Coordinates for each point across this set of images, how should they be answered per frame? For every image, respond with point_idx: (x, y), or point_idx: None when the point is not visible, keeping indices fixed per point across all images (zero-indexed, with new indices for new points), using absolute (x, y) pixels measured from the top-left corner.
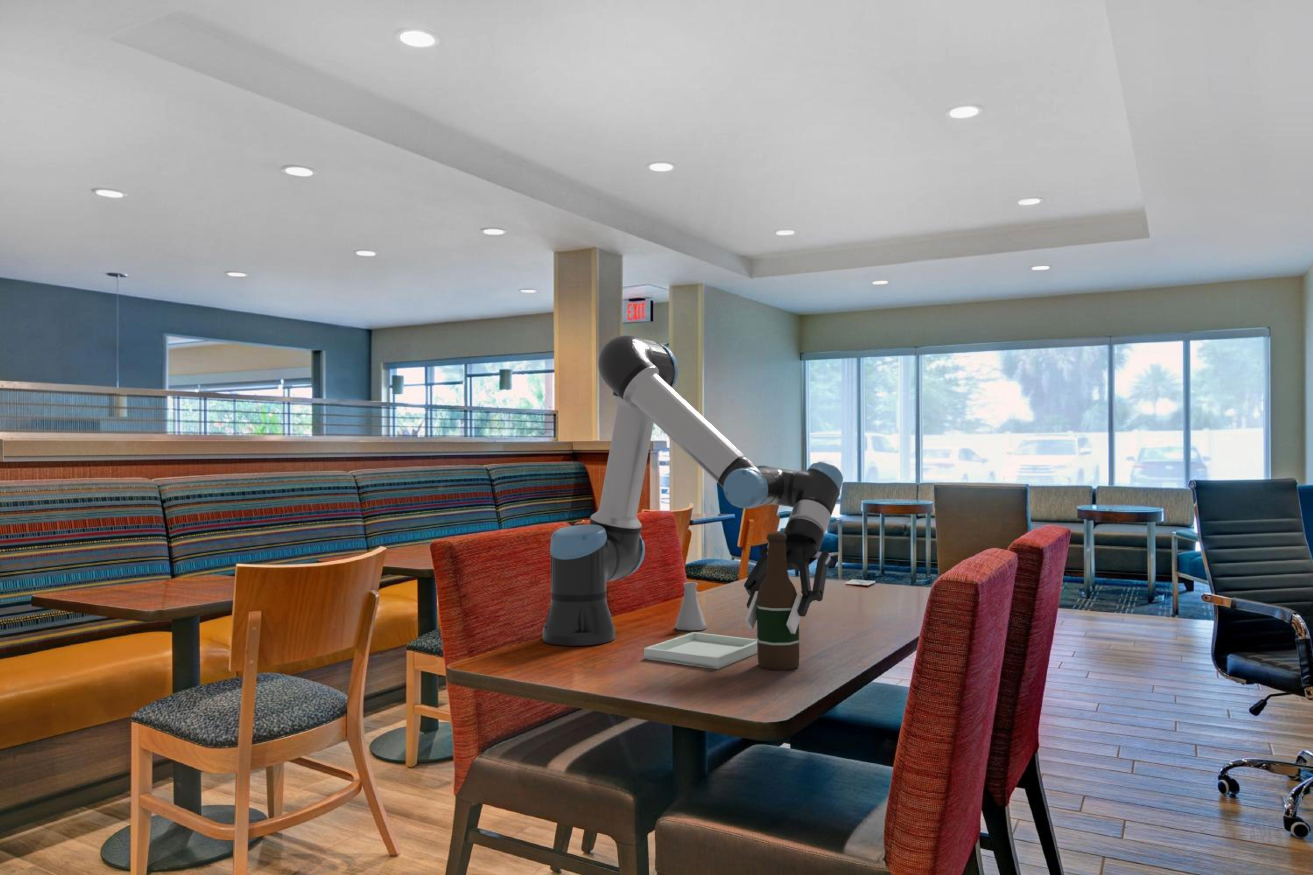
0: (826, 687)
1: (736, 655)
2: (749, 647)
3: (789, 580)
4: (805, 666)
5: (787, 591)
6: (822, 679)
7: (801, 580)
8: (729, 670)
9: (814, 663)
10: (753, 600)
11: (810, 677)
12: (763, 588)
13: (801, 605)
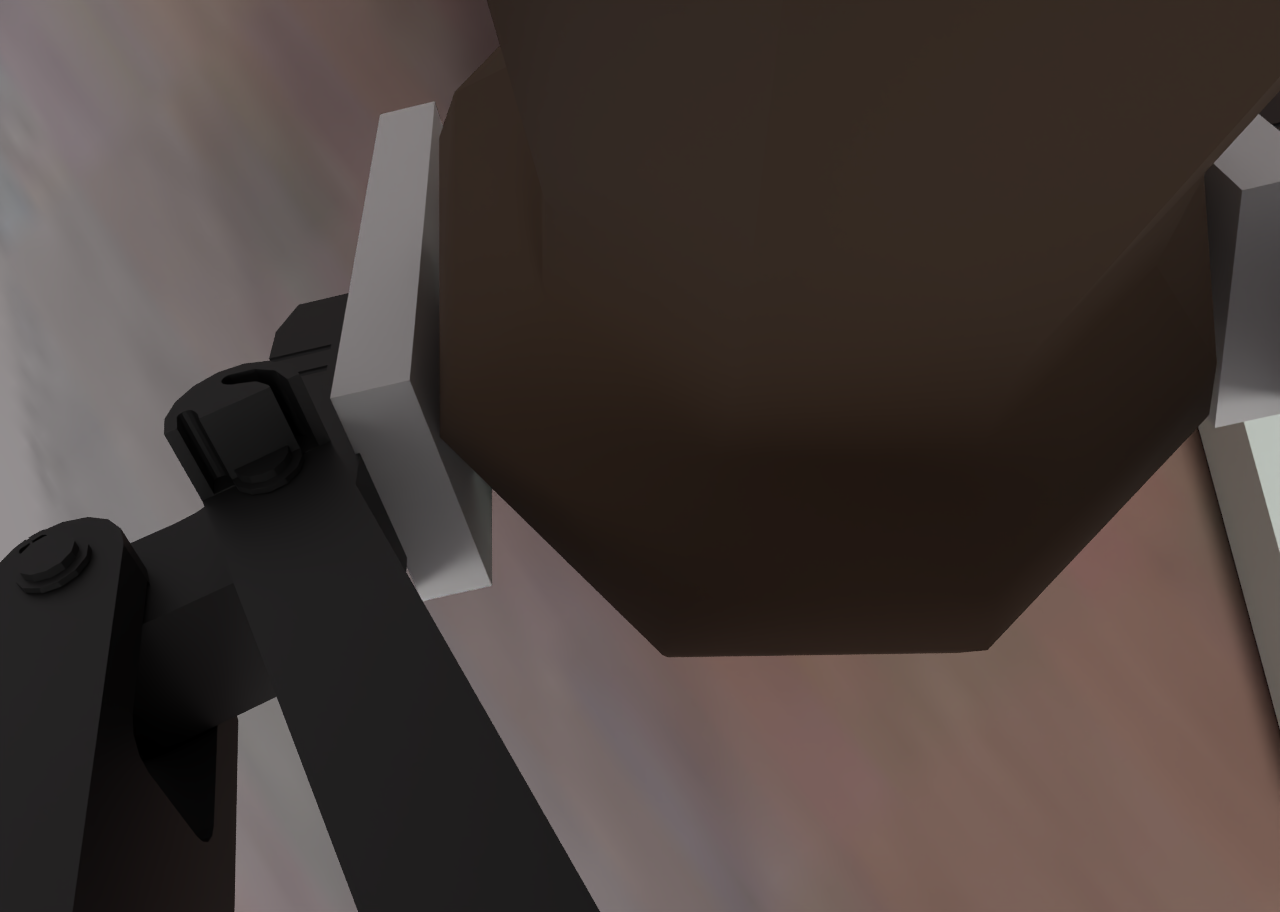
0: (48, 134)
1: None
2: (1271, 551)
3: (516, 274)
4: (575, 590)
5: (451, 123)
6: (204, 313)
7: (425, 656)
8: None
9: (584, 747)
10: None
11: (314, 298)
12: None
13: (328, 356)
